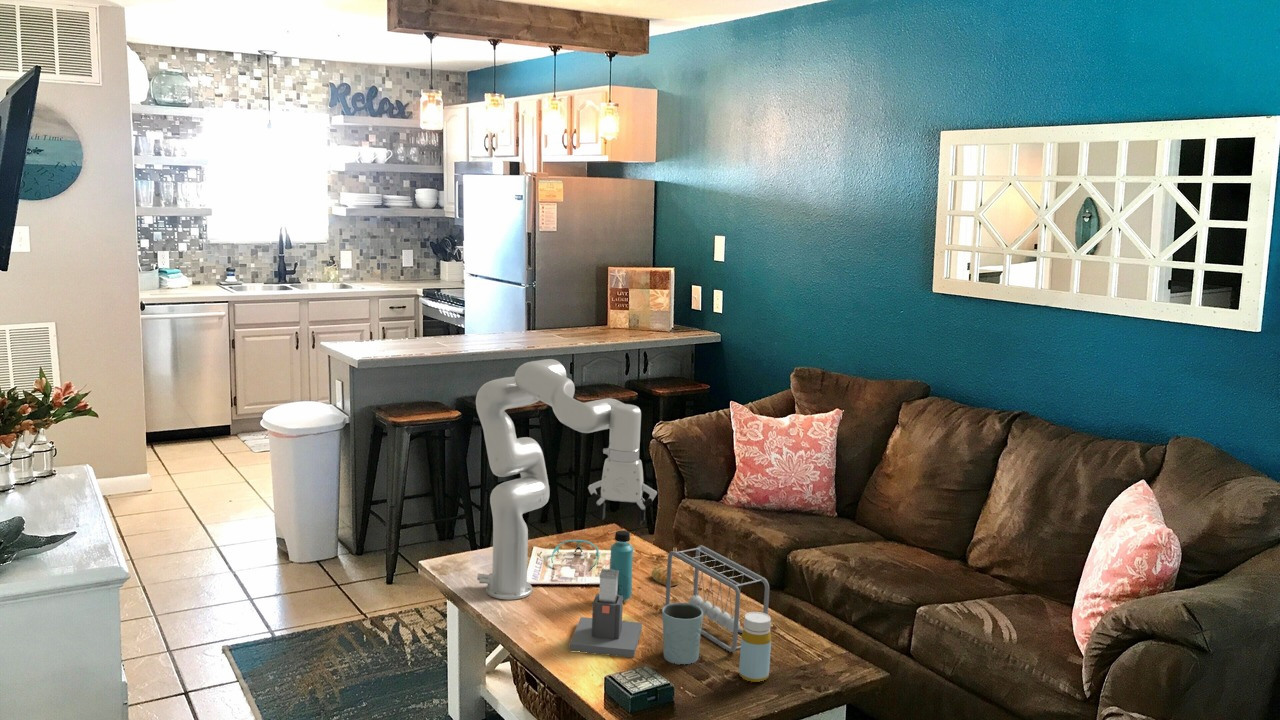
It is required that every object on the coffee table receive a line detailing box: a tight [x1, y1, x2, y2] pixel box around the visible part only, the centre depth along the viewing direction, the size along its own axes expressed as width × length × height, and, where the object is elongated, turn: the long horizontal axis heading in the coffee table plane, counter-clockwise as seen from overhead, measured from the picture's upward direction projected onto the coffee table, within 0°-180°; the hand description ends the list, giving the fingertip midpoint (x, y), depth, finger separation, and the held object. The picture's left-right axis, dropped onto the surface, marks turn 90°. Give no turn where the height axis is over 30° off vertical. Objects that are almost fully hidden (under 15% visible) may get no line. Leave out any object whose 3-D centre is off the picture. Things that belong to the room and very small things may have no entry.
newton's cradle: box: [664, 545, 770, 653], centre depth 273 cm, size 30×10×18 cm, turn 34°
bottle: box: [738, 611, 772, 683], centre depth 247 cm, size 7×7×15 cm
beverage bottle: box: [608, 529, 634, 601], centre depth 287 cm, size 6×7×20 cm
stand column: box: [598, 568, 619, 604], centre depth 263 cm, size 4×4×15 cm
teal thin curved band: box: [550, 539, 600, 568], centre depth 316 cm, size 14×15×5 cm
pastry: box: [651, 564, 681, 587], centre depth 305 cm, size 9×7×4 cm
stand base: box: [569, 593, 643, 658], centre depth 263 cm, size 16×16×11 cm
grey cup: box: [661, 602, 704, 666], centre depth 256 cm, size 10×10×12 cm
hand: (621, 521), depth 262 cm, fingers open, 9 cm apart
